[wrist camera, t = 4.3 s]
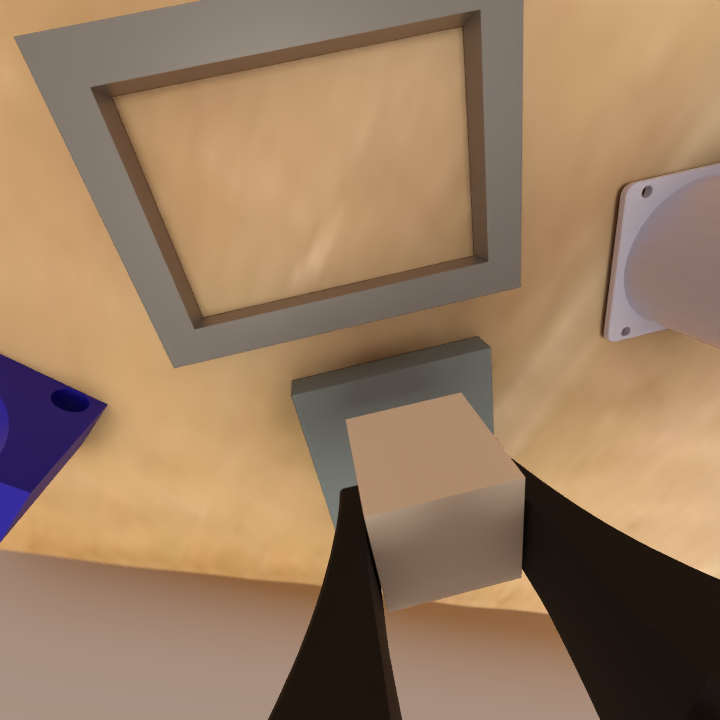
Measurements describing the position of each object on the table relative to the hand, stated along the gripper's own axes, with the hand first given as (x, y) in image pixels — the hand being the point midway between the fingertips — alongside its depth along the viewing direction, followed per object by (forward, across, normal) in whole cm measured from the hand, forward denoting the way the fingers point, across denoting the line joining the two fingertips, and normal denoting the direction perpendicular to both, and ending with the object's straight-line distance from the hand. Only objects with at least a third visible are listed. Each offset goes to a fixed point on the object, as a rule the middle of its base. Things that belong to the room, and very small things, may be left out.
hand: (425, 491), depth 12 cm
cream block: (+2, 0, 0) cm, 2 cm away
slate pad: (+8, -1, +5) cm, 10 cm away
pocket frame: (+8, +1, -9) cm, 13 cm away
